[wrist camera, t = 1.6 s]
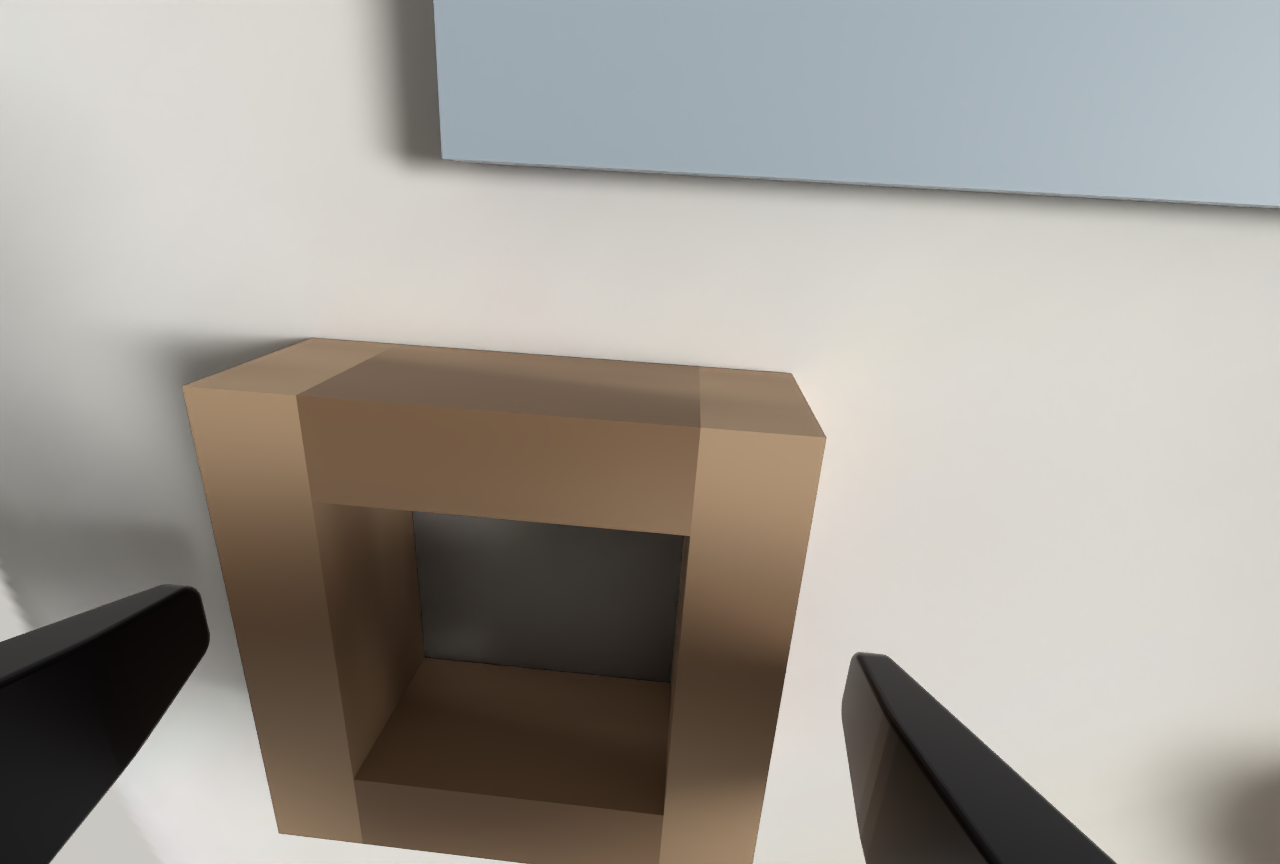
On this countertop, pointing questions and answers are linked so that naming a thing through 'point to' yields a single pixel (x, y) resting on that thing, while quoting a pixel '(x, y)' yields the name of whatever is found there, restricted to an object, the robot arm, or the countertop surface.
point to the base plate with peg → (877, 92)
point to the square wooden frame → (492, 694)
